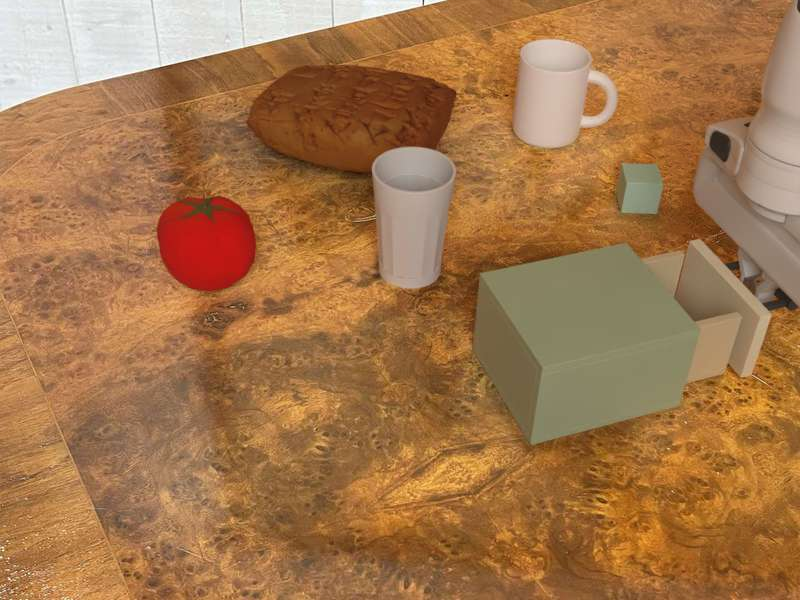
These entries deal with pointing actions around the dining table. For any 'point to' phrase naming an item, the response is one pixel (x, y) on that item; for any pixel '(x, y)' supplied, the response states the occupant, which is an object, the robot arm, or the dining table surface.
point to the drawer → (717, 309)
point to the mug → (556, 93)
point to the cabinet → (582, 341)
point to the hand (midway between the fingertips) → (753, 296)
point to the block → (639, 188)
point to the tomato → (206, 242)
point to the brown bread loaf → (350, 114)
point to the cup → (412, 213)
